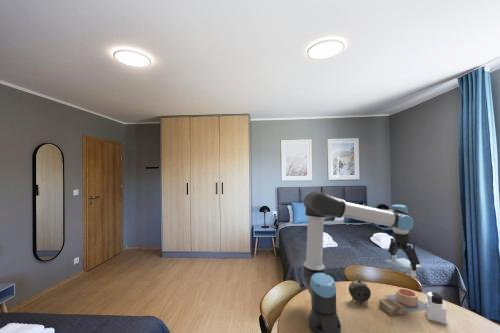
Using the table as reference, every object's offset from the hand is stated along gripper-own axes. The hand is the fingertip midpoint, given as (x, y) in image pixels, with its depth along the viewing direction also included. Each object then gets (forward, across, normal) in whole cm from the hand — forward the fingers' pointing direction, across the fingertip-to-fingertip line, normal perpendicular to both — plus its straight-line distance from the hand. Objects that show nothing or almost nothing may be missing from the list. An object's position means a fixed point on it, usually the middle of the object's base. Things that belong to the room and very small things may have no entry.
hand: (403, 271), depth 123 cm
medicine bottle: (+19, -13, -5) cm, 23 cm away
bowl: (+18, +1, -2) cm, 18 cm away
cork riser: (+18, -4, +12) cm, 22 cm away
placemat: (+19, +1, -2) cm, 19 cm away
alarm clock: (+18, +5, +24) cm, 31 cm away
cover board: (-3, 0, 0) cm, 3 cm away
